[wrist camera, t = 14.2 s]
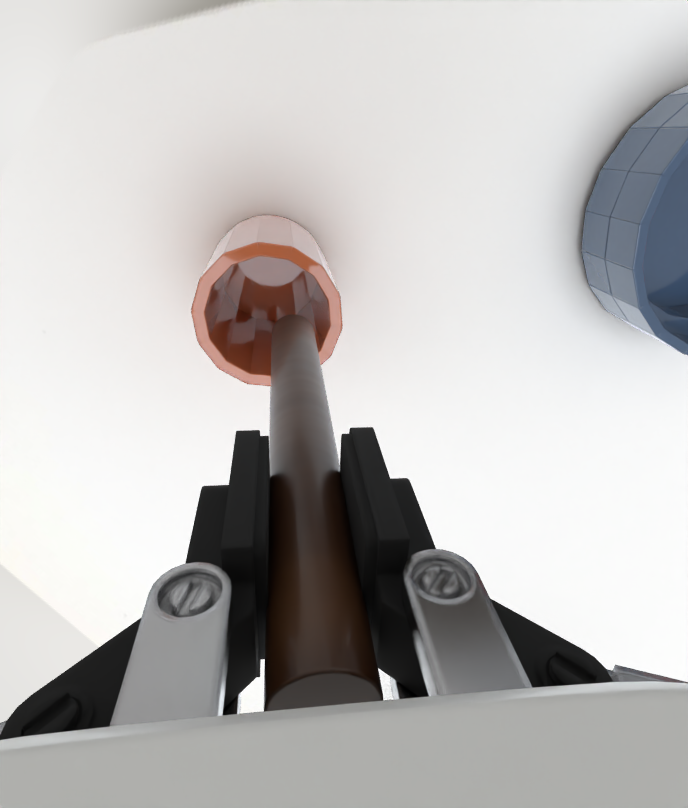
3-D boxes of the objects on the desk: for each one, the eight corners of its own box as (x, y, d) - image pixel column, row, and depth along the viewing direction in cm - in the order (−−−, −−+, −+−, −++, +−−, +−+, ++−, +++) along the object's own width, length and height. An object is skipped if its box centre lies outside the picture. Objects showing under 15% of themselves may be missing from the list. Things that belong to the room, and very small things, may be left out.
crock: (189, 272, 31) (159, 320, 23) (269, 187, 29) (266, 207, 22) (271, 347, 34) (270, 412, 26) (348, 273, 32) (372, 318, 24)
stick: (262, 335, 22) (237, 719, 8) (292, 305, 21) (323, 653, 7) (294, 362, 22) (325, 757, 8) (323, 333, 22) (407, 700, 8)
